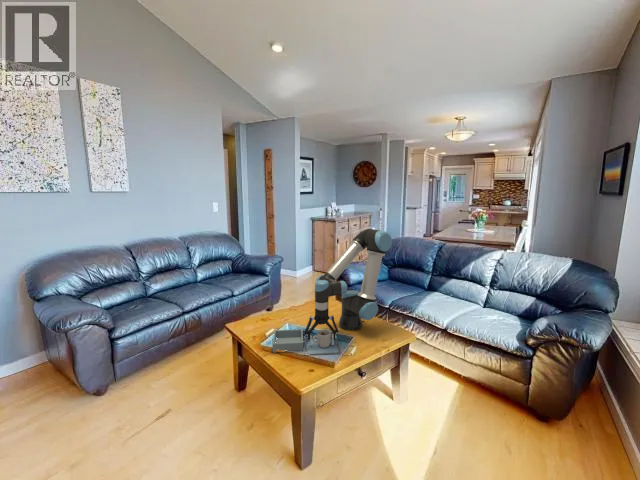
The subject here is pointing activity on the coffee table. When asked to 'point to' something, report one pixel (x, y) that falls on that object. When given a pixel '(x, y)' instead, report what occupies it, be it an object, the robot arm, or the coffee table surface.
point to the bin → (288, 340)
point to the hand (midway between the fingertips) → (321, 344)
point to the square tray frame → (321, 353)
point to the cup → (323, 338)
